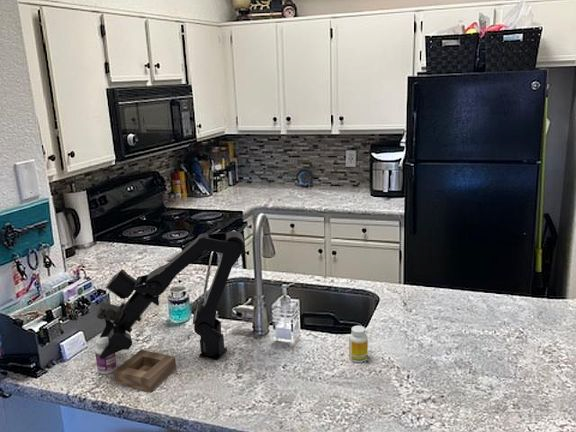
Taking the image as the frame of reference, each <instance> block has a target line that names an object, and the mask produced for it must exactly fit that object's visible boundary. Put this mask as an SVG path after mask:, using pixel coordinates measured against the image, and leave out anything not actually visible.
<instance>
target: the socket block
mask: <svg viewBox="0 0 576 432" xmlns="http://www.w3.org/2000/svg"><path fill="white" fill-rule="evenodd" d="M176 370H177V365H176V356H173V355H169V354H163V353H158V352H154V351H149V350H144V349H140V350H139V351H138V352H137V351H136V353H135V354H133V355H132V356H131V357H129V358H128V359H127V360H126V361H124V362H123V363H121V365H119V366H117V368H116V369H115V370H114V371H113V372H112V373H113V377H114V378H113V379H114V385H119V386H124V387H127V388H132V389H136V390H138V391H139V390H141V391H144V392H149V393H152V392H153V391H154V390H155V389H156V388H157V387H158V386H159V385H161V383H163V382H164V381H165V380H166V379H167V378H168V377H169V376H170V375H171V374H173V373H174V372H175V371H176Z"/></svg>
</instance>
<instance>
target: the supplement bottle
mask: <svg viewBox="0 0 576 432" xmlns="http://www.w3.org/2000/svg"><path fill="white" fill-rule="evenodd" d="M366 332H367V331H366V327H365V326H362V325H354V326H352V327H351V333H350V334H349V337H348V357H349V360H350V359H351V360H350V361H352V362H354V361H355V362H354V363H364V362H365V360H366V361H367V360H368V346H369V345H368V343H369V342H368V341H369V340H368V339H369V338H368V335H367V334H366ZM363 361H364V362H363Z"/></svg>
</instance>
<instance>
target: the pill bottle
mask: <svg viewBox="0 0 576 432" xmlns="http://www.w3.org/2000/svg"><path fill="white" fill-rule="evenodd" d="M95 343H96V347H95V349H94V354H95V362H96V369H97V371H98V373H99V374H100V375H108V374H112V373H114V372H113V371H114V370H115V369H117V368H118V365H117V356H116V353H114V354H112V355H110V356H108V357H106V358H104V359H101V358H99V356H100V355H101V353H102V351H103V350H104V348H105V346H106V345H107V343H108V337H102V338H97V339H96V341H95Z"/></svg>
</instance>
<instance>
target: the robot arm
mask: <svg viewBox="0 0 576 432" xmlns="http://www.w3.org/2000/svg"><path fill="white" fill-rule="evenodd" d="M244 250H245V242H244V237H243V235H242V233H241V232H239V231H237V230H230V231H227V232H215V233H200V234H198V236H197V238H196V239H194V240H193V241H192V242H191V243H190V244H189V245H187V246H186V247H185V248H184V249H183V250H182V251H181V252H179V253H178V254H177V255H176V256H174V258H172V259H171V260H170V261H169V262H167V263H165V264H163V265H161V266H159V267H157V268H155V269H153V270H152V271H150V272H149V273H148V274H145V275H141V276H137V277H136V279H135V278H134V277H132V276H131V275H130V274H129V273H127V271H125V270H124V269H120V270H119V271H118V272H117V273H116V274H114V275H113V276H112V278H111V279H110V280H109V281H108V283H107V284H106V286H105V289H107V290H108V291H109V292H110V293H113V294H114V295H115V296H117V297H118V298H120V299H121V300H125V299H128V300H127V301H126V302H121V303H120V305H115V304H112V303H107V302H102V301H101V302H99V304H98V307H97V310H96V319H99V320H104V322H105V325H104V327H103V329H102V330H101V331H102V332H101V334H100V336H99V338H102V337H108V343H107V345H106V346H105V348H104V350H103V351H102V353H101V355H100V356H99V358H101V359H104V358H106V357H108V356H110V355H112V354H114V353H115V354H116V353H118V352H121V351H125V350H127V351H128V350H130V348H131V347H132V346H133V339H132V334H130V333H132V331H133V326H134V325H135V324H136V323H137V322H140V321H141V320H142V315H143V314H144V313H145V311H147V309H149V307H150V306H151V305H152V304H154V305H156V307H158V306H160V300H159V298H160V296H161V295H163V294H164V292H165V291H166V290H167V289H168V287H169V286H170V284H171V283H172V282H173V281H174V278H175V277H176V276H178V274H180V273H181V272H182V271H183V270H184V269H185V268H187V267H188V266H189V265H190V264H192V262H193V261H195V260H196V259H197V258H198V257H200V255H202V254H203V253H204V252H206V251H208V252H209V251H210V252H213V253H217V254H220V259H219V263H218V264H217V267H216V270H215V273H214V277H213V278H212V281H211V284H210V287H209V289H208V292H207V294H206V297H205V300H204V302H203V303H202V304H201V303H199V302H198V303H197V304H196V310H195V312H194V313H193V318H192V325H193V330H194V333H195V334H197V335H198V336H199V337H200V339H199V349H200V354H199V355H198V356H199V358H203V359H209V360H214V361H218V360H220V358H222V357H223V355H224V354H225V353H227V352H228V347H225V339H224V338H225V337H224V333H222V322H221V321H220V320H219V319H218V318H216V316H217V310H218V306H219V303H220V301H221V298H222V295H223V293H224V290H225V288H226V286H227V285H226V284H227V281H228V279H229V277H230V274H231V271H232V268H233V267H234V265H235V264H236V263H237V262H238V260H239V258H240V257H241V256H242V254H243V252H244ZM99 338H98V339H99Z"/></svg>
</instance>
